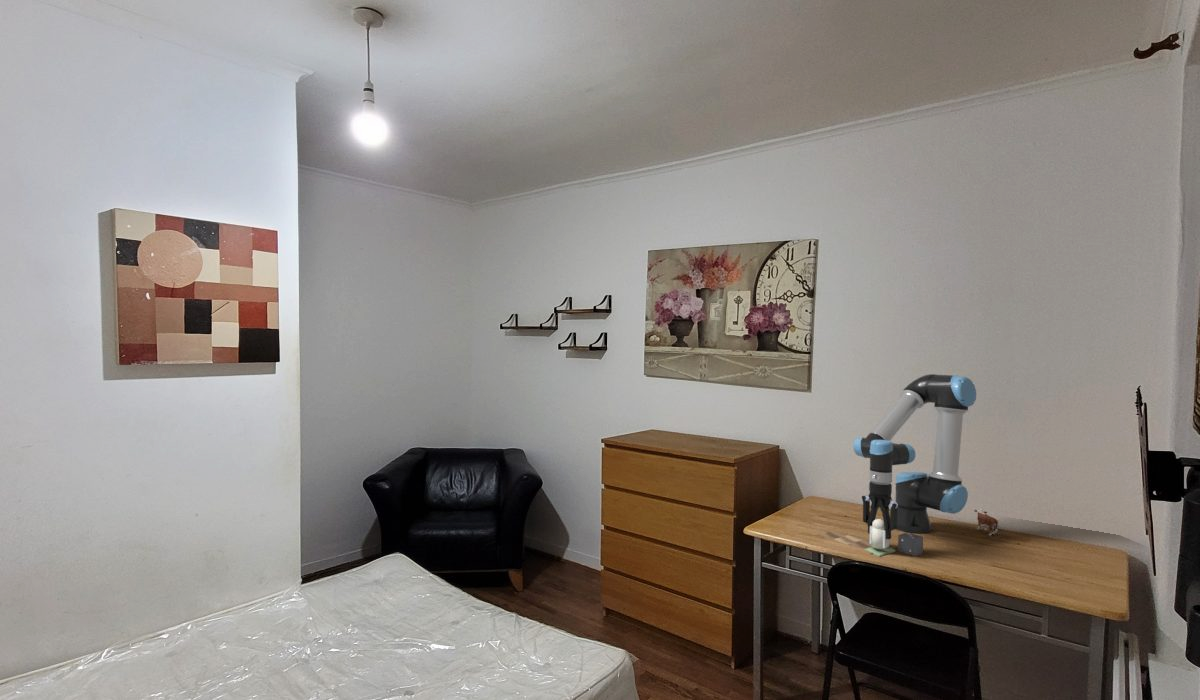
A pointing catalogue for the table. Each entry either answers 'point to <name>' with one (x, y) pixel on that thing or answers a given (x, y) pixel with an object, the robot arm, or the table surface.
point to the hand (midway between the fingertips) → (879, 545)
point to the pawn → (877, 533)
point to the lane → (856, 543)
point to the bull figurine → (986, 521)
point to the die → (910, 544)
